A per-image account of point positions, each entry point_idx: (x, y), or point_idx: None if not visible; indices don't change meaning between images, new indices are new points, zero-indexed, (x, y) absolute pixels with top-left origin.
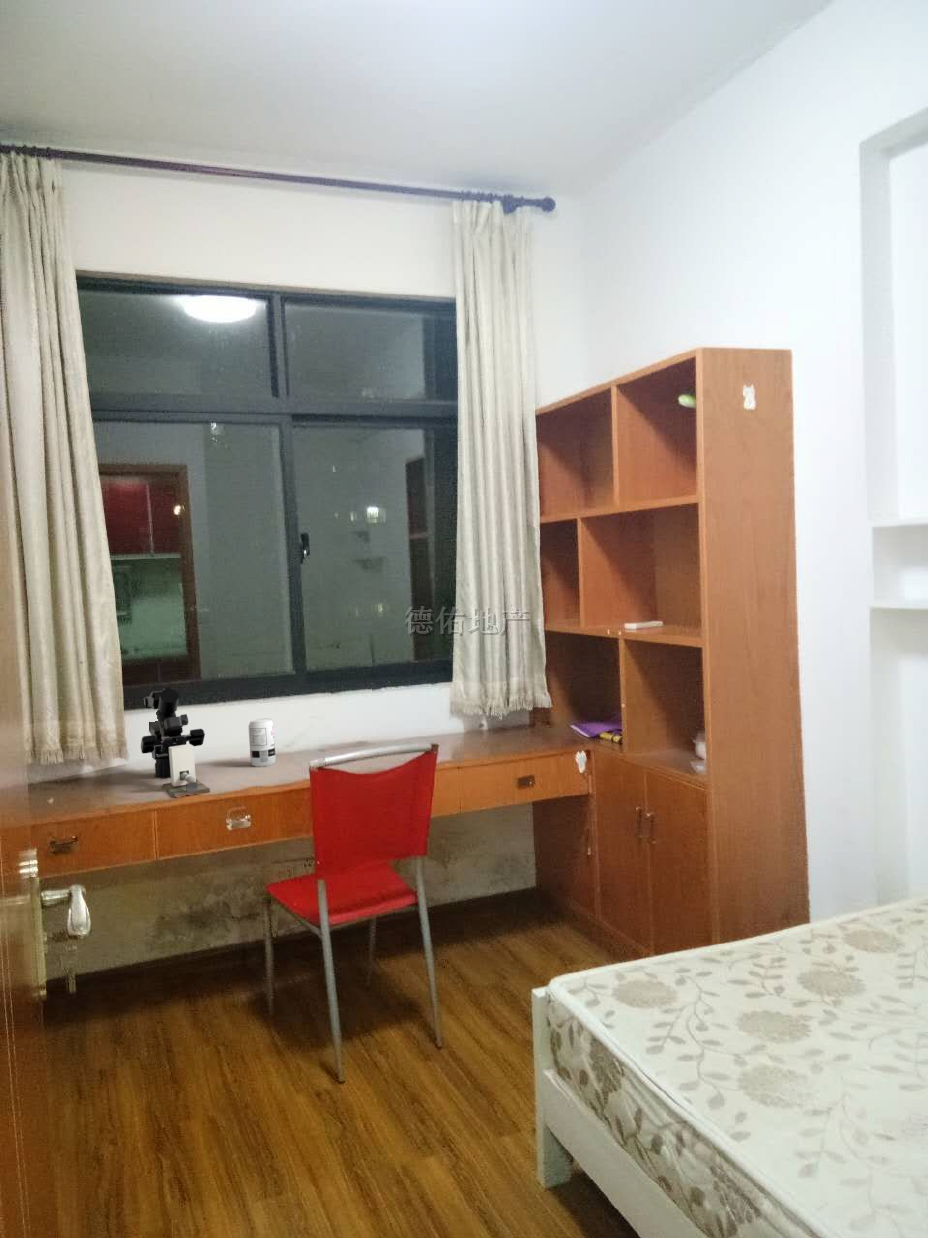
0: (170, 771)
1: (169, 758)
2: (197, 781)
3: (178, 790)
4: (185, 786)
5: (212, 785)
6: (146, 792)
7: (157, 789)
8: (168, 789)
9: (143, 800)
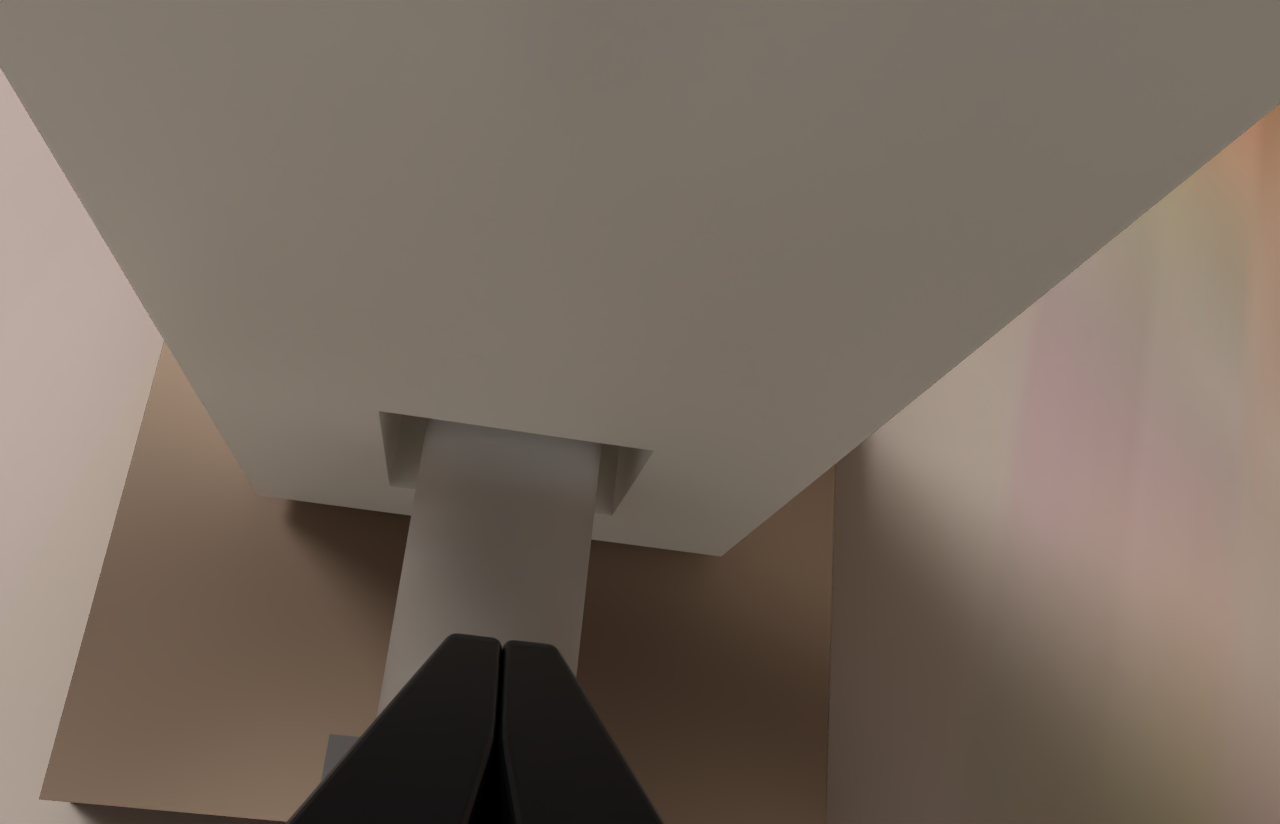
0: (813, 471)
1: (994, 334)
2: (171, 454)
3: None
4: None
5: (20, 193)
6: (1126, 686)
7: (920, 770)
8: None
9: (1215, 189)
